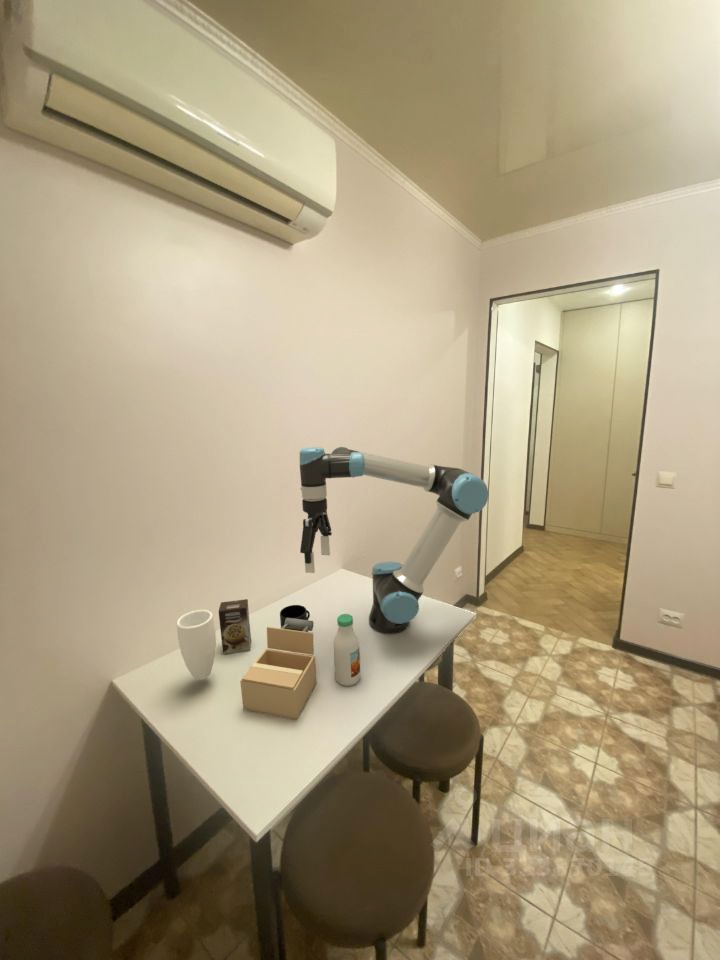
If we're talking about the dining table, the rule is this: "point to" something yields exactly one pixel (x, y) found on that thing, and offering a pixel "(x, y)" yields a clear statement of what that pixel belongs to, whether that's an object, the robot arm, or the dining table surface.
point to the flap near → (292, 636)
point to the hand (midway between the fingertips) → (318, 563)
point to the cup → (197, 642)
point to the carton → (279, 683)
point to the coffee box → (235, 626)
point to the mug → (294, 614)
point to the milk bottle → (346, 652)
